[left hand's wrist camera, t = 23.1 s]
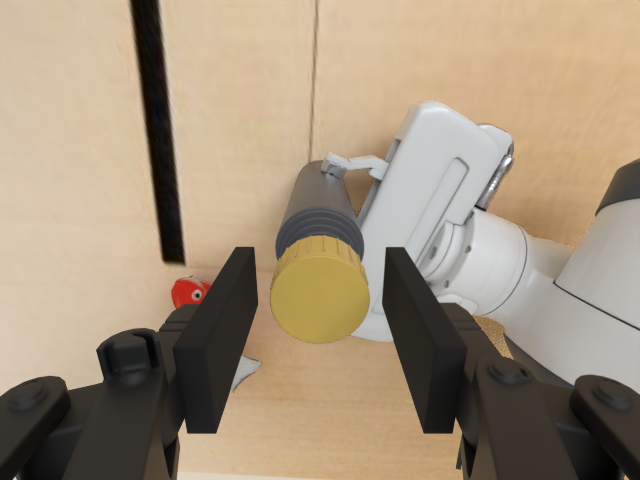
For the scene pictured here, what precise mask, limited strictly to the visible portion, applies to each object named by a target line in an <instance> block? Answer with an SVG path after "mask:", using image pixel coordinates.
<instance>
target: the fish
mask: <svg viewBox="0 0 640 480" xmlns="http://www.w3.org/2000/svg"><path fill="white" fill-rule="evenodd" d="M192 276H193V275H192ZM192 276H190V277H189V278H181V279H178V280H177V281H176V282H175V285H174V286H173V288H172V291H171V294H172V300H173V303H174V305H175V307H176V309H177V308H179V307H180V306H182V305H183V304H200V303H201V301H202V300H203V298H204V297H205V295H206V294H207V292H208V290H209V289H210V287H211V286H212V285H211V284H209V283H207V282H205V281H203V280H200V279H196V278H192ZM261 363H262V362H260V361H257V360H254V359H251V358H247V357H244V356H243V355H242V356H241V359H240V362H239V365H238V368H237V371H236V374H235V377H234V380H233V383H232V386H231V388H232V390H233V393H234V390H235V389H236V387H237V386H238V385H239V384H240V383H241V382H242V381H243V380H244V379H245V378H247V377H248V376H250V375H251V374H253V373H254V372H255V371H256V370H257V369H258V367H259V366H260V365H261Z"/></svg>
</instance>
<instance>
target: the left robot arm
mask: <svg viewBox="0 0 640 480" xmlns="http://www.w3.org/2000/svg"><path fill="white" fill-rule="evenodd" d="M257 306H258V294H257V280H256V266H255V252H254V247H236V248H235V249H234V251H233V252H232V254H231V256H230V257H229V259H228V260H227V262H226V264H225V265H224V267H223V268H222V270H221V271H220V273H219V275H218V276H217V278H216V279H215V281H214V282H213V284H212V286H211V287H210V289H209V290H208V292H207V294H206V295H205V297H204V298H203V300H202V301H201V303H200V304H183V305H182V306H180V307H179V308H177V309H176V310H174V311H173V312H172V313H171V314H170V316H169V317H168V318H167V320H166V321H165V323H164V324H163V325H162V326H161V328H160V329H159V332H155V331H154V330H151V329H147V328H138V329H131V330H127V331H123V332H120V333H118V334H116V335H113V336H111V337H110V338H108V339H107V340H105V341H104V342H102V343H101V345H100V346H99V347H98V348H97V349H96V351H97V355H98V359H99V362H100V366H101V370H102V373H103V377H104V380H103V382H102V383H99V384H95V385H91V386H86V387H82V388H77V389H73V390H68V389H67V386H66V383H65V381H64V380H63V379H61V378H60V377H55V376H45V377H39V378H35V379H31V380H28V381H26V382H23V383H21V384H19V385H17V386H16V387H14V388H12V389H10V390H8V391H7V392H6V393H4V394H3V395H2V396H0V480H13V478H14V477H15V476H16V479H17V480H177V471H178V462H179V452H180V444H179V437H178V432H179V430H180V427H181V425H182V423H183V421H184V418H185V422H186V428H187V433H188V434H216V433H217V429H218V426H219V423H220V420H221V417H222V414H223V411H224V408H225V405H226V402H227V399H228V396H229V393H230V389H231V386H232V383H233V380H234V377H235V374H236V371H237V368H238V365H239V362H240V359H241V356H242V353H243V349H244V346H245V343H246V340H247V337H248V334H249V331H250V328H251V325H252V322H253V319H254V316H255V313H256V310H257ZM382 306H383V310H384V313H385V316H386V319H387V322H388V325H389V328H390V331H391V334H392V337H393V340H394V343H395V346H396V349H397V353H398V356H399V359H400V362H401V365H402V368H403V371H404V374H405V377H406V380H407V383H408V386H409V389H410V393H411V396H412V399H413V402H414V405H415V408H416V411H417V414H418V417H419V420H420V423H421V426H422V429H423V433H424V434H452V433H453V428H454V422H455V417H456V419H457V421H458V423H459V426H460V428H461V430H462V437H461V443H460V448H459V453H458V458H457V464H456V469H460V470H461V465H462V470H463V479H464V480H624V476H625V475H626V476H627V477H628V479H629V480H640V394H638V393H637V392H636V391H634V390H633V389H632V388H630V387H628V386H626V385H624V384H622V383H620V382H619V381H616V380H614V379H610V378H607V377H604V376H599V375H592V374H589V375H581V376H580V377H578V378H577V379H576V380H575V383H574V386H573V389H570V388H565V387H561V386H556V385H551V384H547V383H543V382H539V381H537V380H536V378H535V376H534V375H533V374H532V372H531V371H530V370H529V369H527V368H526V367H525V366H524V365H522V364H521V363H519V362H517V361H515V360H513V359H510V358H506V357H503V356H501V354H500V353H499V352H498V350H497V349H496V348H495V346H494V345H493V344H492V342H491V341H490V340H489V338H488V337H487V336H486V334H485V333H484V332H483V330H481V328H480V326H479V325H478V324H477V322H475V320H474V318H473V317H472V316H471V314H470V313H469V312H468V311H467V310H466V309H464V308H463V307H461V306H460V305H458V304H457V303H439V301H438V300H437V298H436V297H435V295H434V294H433V292H432V290H431V289H430V287H429V286H428V284H427V282H426V281H425V279H424V278H423V276H422V275H421V273H420V271H419V270H418V268H417V267H416V265H415V264H414V262H413V260H412V259H411V257H410V256H409V254H408V252H407V251H406V249H405V248H404V247H386V252H385V266H384V280H383V294H382Z"/></svg>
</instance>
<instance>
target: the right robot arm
mask: <svg viewBox="0 0 640 480" xmlns="http://www.w3.org/2000/svg"><path fill="white" fill-rule="evenodd" d="M507 150H508V152H507ZM506 152H507V155H505V153H506ZM513 152H514V143H513V139H512V137H511V136H510V134H509V133H507V132H506V131H504V130H502V129H500V128H498V127H496V126H494V125H492V124H489V123H479V124H475V123H473V122H472V121H471V120H469V119H468V118H466V117H465V116H463V115H462V114H460V113H458V112H457V111H455V110H453V109H452V108H450V107H448V106H446V105H444V104H442V103H440V102H438V101H434V100H426V101H422V102H419V103H417V104H414V105H412V106H411V107H410V108H409V109H408V111H407V113H406V115H405V117H404V120H403V122H402V124H401V126H400V128H399V130H398V132H397V134H396V136H395V138H394V141H393V143H392V145H391V147H390V149H389V151H388V153H387V155H386V157H385V160H383V159H380V158H378V157H376V156H373V155H367V156H360V157H353V158H348V159H345V158H343V157H341V156H338V155H336V154H334V153H331V152H327V154H326V157H325V159H324V161H323V164H322V166H321V171H323V172H325V173H327V174H333V176H334V177H336V178H339V179H341V180H342V178H343V175H344V173H345V171H346V170H355V169H363V168H366V171H367V173H368V174H369V175H370V176H372V177H374V178H376V179H375V181H374V183H373V185H372V187H371V189H370V191H369V193H368V195H367V197H366V200H365V202H364V204H363V206H362V208H361V210H360V212H359V214H358V216H357V221H358V224H359V227H360V230H361V233H362V236H363V240H364V256H363V259H362V262H361V264H362V265H363V266H364V269H365V273H366V276H367V280H368V283H369V285H367V286H368V289H369V294H370V305H369V310H368V313H367V315H366V318H365V319H364V321H363V323H362V324H361V325H360V326H359V328H358V329H356V330H355V331H354V332H353V333H352V334H350V335H352V336H355V337H359V338H363V339H367V340H371V341H376V342H390V341H394V340H393V337H392V334H391V331H390V328H389V325H388V322H387V319H386V316H385V313H384V310H383V306H382V294H383V280H384V266H385V252H386V247H404V248H405V249H406V251H407V252H408V254H409V256H410V257H411V259H412V260H413V262H414V264H415V265H416V267H417V268H418V270H419V271H420V273H421V275H422V276H423V278H424V279H425V281H426V282H427V284H428V286H429V287H430V289H431V290H432V292H433V294H434V295H435V297H436V298H437V300H438V301H439V303H457V304H458V305H460V306H461V307H463V308H464V309H466V310H467V311H468V312H469V313H470V314H471V316H477V317H485V318H489V319H492V320H494V321H496V322H498V323H500V324H501V325H502V326H503V327H504V329H505V332H504V333H503V334H504V338H505V341H506V344H507V346H508V348H509V350H510V352H511V354H512V356H513V358H514V360H515V361H517V362H519V363H521V364H522V365H524V366H525V367H526V368H527V369H529V370H530V371H531V372H532V374H533V375H534V376H535V378H536V380H537V381H539V382H543V383H547V384H551V385H556V386H561V387H565V388H570V389H573V386H574V383H575V380H576V379H577V378H578V377H580V376H581V375H589V374H592V375H599V376H604V377H607V378H610V379H614V380H616V381H619V382H620V383H622V384H624V385H626V386H628V387H630V388H632V389H633V390H634V391H636V392H637V393H638V394H640V158H639V159H637V160H635V161H633V162H631V163H629V164H627V165H625V166H623V167H621V168H619V169H618V170H617V171H616V173H615V175H614V177H613V179H612V181H611V183H610V185H609V187H608V189H607V191H606V193H605V195H604V197H603V199H602V201H601V203H600V205H599V207H598V209H597V211H596V213H595V219H594V220H593V222H592V224H591V225H590V227H589V228H588V230H587V232H586V233H585V235H584V236H583V238H582V240H581V241H580V243H579V244H578V246H577V248H576V249H575V250H573V249H571V248H569V247H567V246H565V245H563V244H561V243H558V242H556V241H553V240H549V239H543V238H535V237H533V236H531V235H529V234H528V233H527V232H526V231H525V230H524V229H523V228H522V227H520V226H518V225H517V224H515V223H512V222H510V221H508V220H505V219H503V218H501V217H498V216H496V215H494V214H492V213H489V212H487V211H486V209H487V207H488V206H489V204H490V202H491V201H492V199H493V197H494V196H495V194H496V192H497V189H498V188H499V186H500V183H501V182H502V180H503V178H504V177H505V175H507V174H508V172H509V171H510V169H511V168H512V165H513V163H514V160H515V159H514V158H512V155H513Z"/></svg>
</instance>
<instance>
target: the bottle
mask: <svg viewBox="0 0 640 480" xmlns="http://www.w3.org/2000/svg"><path fill="white" fill-rule="evenodd" d="M322 164H323V161H314V162H311V163H309V164H307V165H306V166H305V167H304V168H303V169H302V170H301V171H300V173H299V176H298V178H297V181H296V184H295V187H294V190H293V193H292V195H291V198H290V201H289V204H288V207H287V210H286V213H285V215H284V218H283V221H282V224H281V227H280V230H279V233H278V235H277V239H276V256H277V260H279V258H281V257H282V255H283V254H284V252H285V251H286V248H289V247H290V246H291V245H292V244H294V243H295V242H297V240H301V239H304V238H307V237H310V236H323V235H326V236H329V237H333V238H336V239H337V238H338V239H339V240H341V241H343V242H344V243H346V244H347V245H350V246H351V248H352V249H353V250H354V251H355V253H356V254H358V255H359V258H360V261H361V262H362V259H363V256H364V240H363V236H362V233H361V230H360V227H359V224H358V221H357V219H356V216H355V213H354V210H353V207H352V204H351V201H350V198H349V196H348V193H347V190H346V187H345V184H344V181H343V178H342V180H341V179H339V178H336V177H334V176H333V174H327V173H325V172H323V171H321V166H322Z"/></svg>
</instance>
